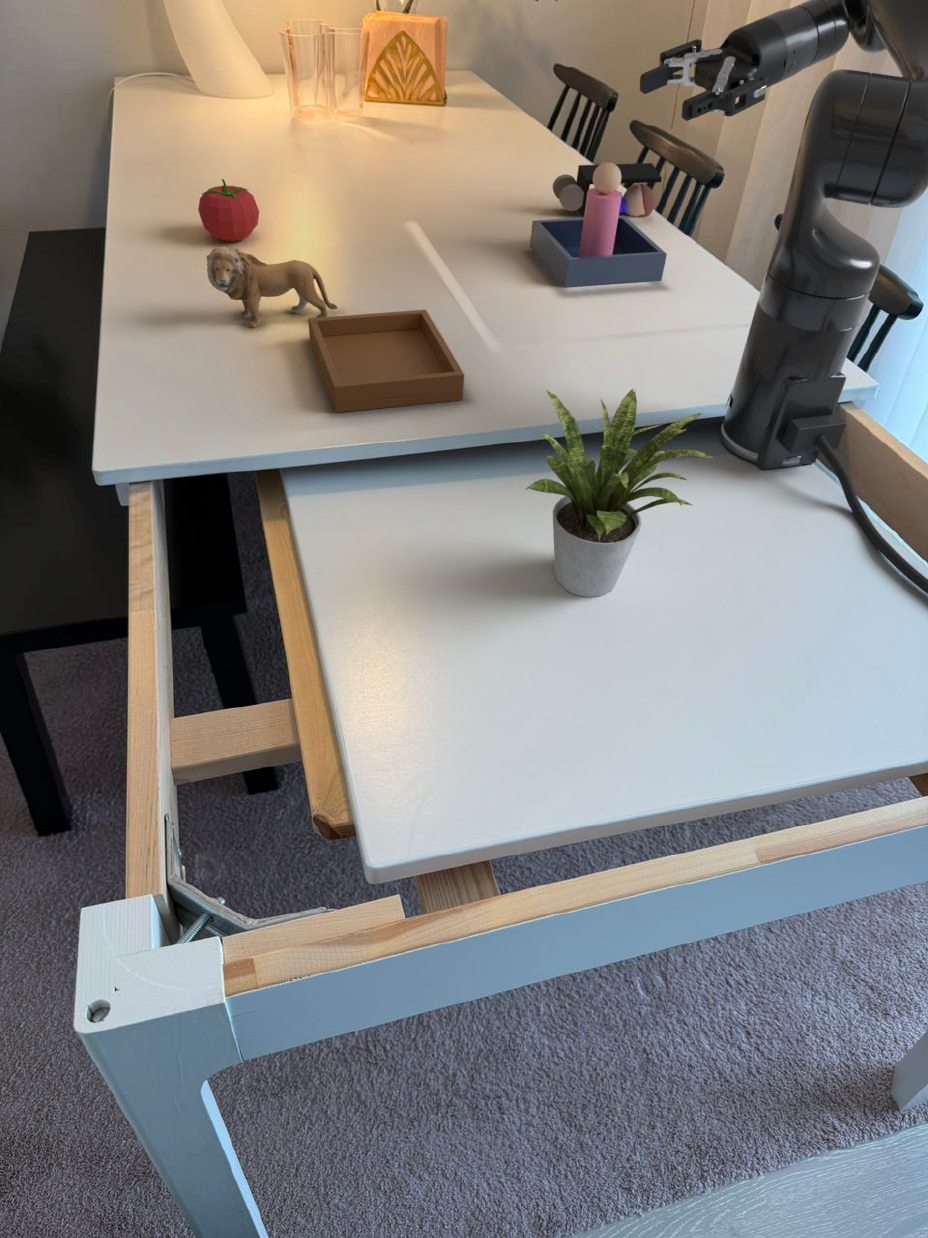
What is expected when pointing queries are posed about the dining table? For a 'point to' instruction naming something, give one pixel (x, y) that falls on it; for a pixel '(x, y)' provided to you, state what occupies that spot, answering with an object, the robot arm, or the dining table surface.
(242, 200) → the tomato
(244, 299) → the lion figurine
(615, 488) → the house plant
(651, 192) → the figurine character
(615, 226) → the doll
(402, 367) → the tray
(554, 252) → the blue square open box
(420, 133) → the dining table surface
